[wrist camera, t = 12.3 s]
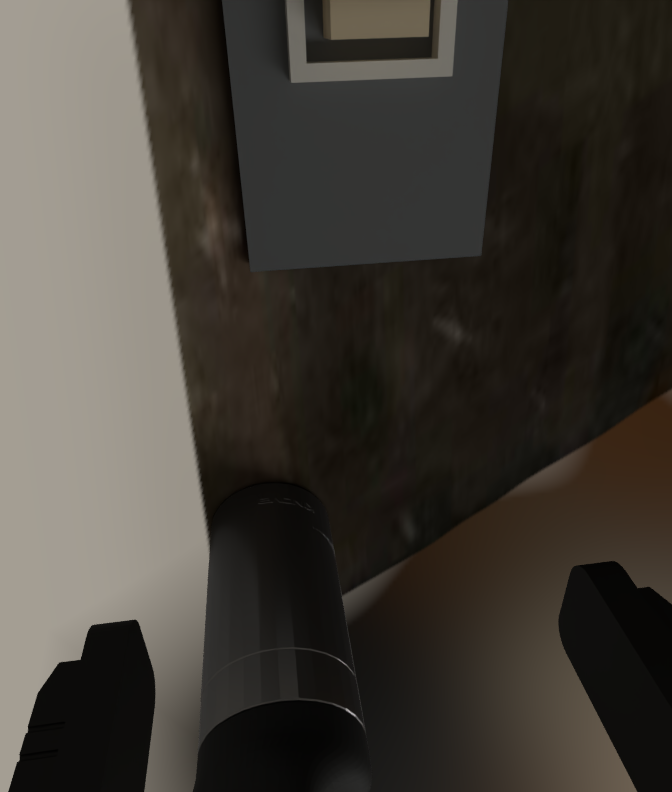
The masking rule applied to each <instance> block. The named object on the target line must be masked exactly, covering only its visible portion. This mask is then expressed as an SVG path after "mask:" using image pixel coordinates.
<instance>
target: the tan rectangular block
mask: <svg viewBox="0 0 672 792" xmlns="http://www.w3.org/2000/svg"><path fill="white" fill-rule="evenodd" d="M322 4H323V37H324V38H326V39H330V40H340V39H370V38H400V37H429V19H430V0H322Z"/></svg>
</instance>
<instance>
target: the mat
mask: <svg viewBox="0 0 672 792" xmlns="http://www.w3.org/2000/svg"><path fill="white" fill-rule="evenodd" d="M222 5H223V15H224V24H225V34H226V44H227V53H228V63H229V72H230V82H231V91H232V101H233V110H234V120H235V129H236V139H237V148H238V158H239V167H240V177H241V186H242V196H243V205H244V215H245V224H246V234H247V244H248V253H249V263H250V272H257V271H271V270H285V269H299V268H313V267H328V266H342V265H356V264H370V263H384V262H399V261H413V260H427V259H441V258H455V257H469V256H481V252H482V242H483V233H484V224H485V214H486V205H487V195H488V186H489V177H490V167H491V158H492V148H493V139H494V130H495V120H496V111H497V101H498V92H499V83H500V73H501V64H502V54H503V45H504V36H505V26H506V17H507V7H508V0H458V3H457V17H456V32H455V46H454V61H453V75H452V76H449V77H425V78H400V79H375V80H351V81H326V82H301V83H291V82H290V81H289V63H288V46H287V29H286V12H285V0H222ZM304 16H305V38H306V61H307V62H319V61H346V60H373V59H400V58H426V57H432V38H433V19H434V0H430V19H429V37H400V38H370V39H340V40H330V39H326V38H324V37H323V4H322V0H304Z"/></svg>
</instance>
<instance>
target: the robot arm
mask: <svg viewBox="0 0 672 792" xmlns="http://www.w3.org/2000/svg"><path fill="white" fill-rule="evenodd" d="M559 632H560V637H561V641H562V644H563V646H564V649H565V651H566V654H567V655H568V657H569V659H570V661H571V663H572V665H573V667H574V669H575V671H576V673H577V675H578V677H579V679H580V681H581V683H582V685H583V687H584V689H585V690H586V692H587V694H588V696H589V698H590V700H591V702H592V704H593V706H594V708H595V710H596V712H597V714H598V716H599V718H600V720H601V722H602V724H603V726H604V728H605V730H606V731H607V733H608V735H609V737H610V739H611V741H612V743H613V745H614V747H615V749H616V751H617V753H618V755H619V757H620V759H621V761H622V763H623V765H624V767H625V768H626V770H627V772H628V774H629V776H630V778H631V780H632V782H633V784H634V786H635V788H636V790H637V792H672V604H671V603H669V602H668V601H667V600H665V599H664V598H663V597H662V596H660V595H659V594H658V593H657V592H655V591H654V590H653V589H651V588H650V587H645V588H637V587H636V585H635V584H634V583H633V581H632V580H631V578H630V577H629V575H628V574H627V572H626V571H625V570H624V569H623V567H622V566H621V565H620V564H618V563H617V562H615V561H609V562H601V563H594V564H586V565H578V566H574V567H573V568H572V570H571V573H570V576H569V580H568V584H567V588H566V592H565V595H564V599H563V603H562V607H561V610H560V614H559ZM204 640H205V641H204V655H203V657H204V658H203V673H202V689H201V710H200V728H199V746H198V762H197V774H196V781H195V786H194V789H193V792H369V791H370V787H371V781H372V770H371V762H370V755H369V749H368V744H367V738H366V731H365V726H364V720H363V714H362V709H361V703H360V697H359V691H358V685H357V681H356V676H355V669H354V663H353V658H352V652H351V646H350V641H349V635H348V629H347V624H346V617H345V612H344V606H343V600H342V594H341V588H340V582H339V577H338V571H337V565H336V559H335V553H334V547H333V541H332V536H331V530H330V524H329V519H328V514H327V512H326V509H325V507H324V506H323V504H322V503H321V502H320V501H319V499H318V498H317V497H315V496H314V495H313V494H311V493H310V492H308V491H306V490H304V489H302V488H300V487H297V486H293V485H289V484H281V483H267V484H259V485H255V486H251V487H248V488H245V489H243V490H241V491H238V492H236V493H235V494H234V495H232V496H231V497H229V498H228V499H226V500H225V502H224V503H223V504H222V505H221V506H220V507H219V508H218V510H217V512H216V513H215V515H214V518H213V521H212V525H211V541H210V558H209V570H208V588H207V604H206V621H205V639H204ZM154 708H155V679H154V672H153V668H152V665H151V661H150V659H149V655H148V652H147V648H146V645H145V642H144V639H143V635H142V632H141V629H140V626H139V623H138V622H137V620H129V621H121V622H113V623H105V624H97V625H92V626H91V628H90V629H89V631H88V633H87V637H86V641H85V645H84V649H83V653H82V657H81V660H76V661H68V662H61V663H59V664H58V665H57V667H56V668H55V669H54V671H53V672H52V674H51V675H50V677H49V678H48V679H47V681H46V682H45V684H44V685H43V687H42V688H41V689H40V691H39V692H38V695H37V698H36V701H35V704H34V708H33V712H32V714H31V718H30V721H29V724H28V733H26V735H25V738H24V741H23V745H22V748H21V751H20V760H19V762H17V765H16V768H15V771H14V775H13V778H12V781H11V785H10V788H9V791H8V792H144V789H145V781H146V773H147V765H148V756H149V748H150V740H151V733H152V724H153V716H154Z"/></svg>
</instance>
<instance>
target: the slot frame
mask: <svg viewBox="0 0 672 792" xmlns="http://www.w3.org/2000/svg"><path fill="white" fill-rule="evenodd" d="M457 3H458V0H434V19H433V38H432V57H426V58H400V59H373V60H346V61H319V62H307V61H306V38H305V16H304V0H285V12H286V29H287V46H288V63H289V81H290V82H291V83H301V82H326V81H351V80H375V79H400V78H425V77H449V76H452V75H453V61H454V46H455V32H456V17H457Z"/></svg>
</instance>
